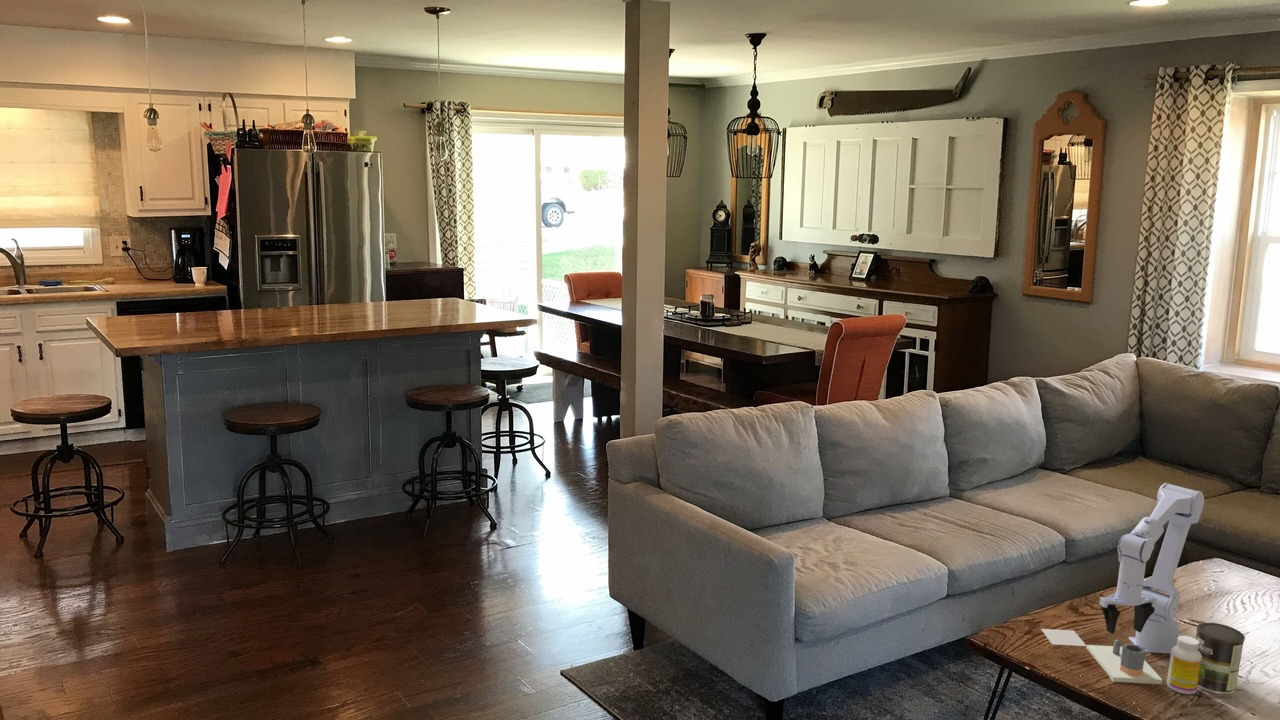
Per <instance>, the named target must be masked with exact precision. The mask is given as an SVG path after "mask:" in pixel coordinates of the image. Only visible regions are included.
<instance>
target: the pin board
mask: <svg viewBox="0 0 1280 720" xmlns="http://www.w3.org/2000/svg"><path fill="white" fill-rule="evenodd" d="M1121 643H1122V642H1121V640H1119V639H1115V640H1114V641H1113V645H1094V644H1086V646H1085V648H1086V650H1087V651H1088V652H1089V653H1090V655H1091V656H1092V657H1093V658H1094V659H1095V660H1096V662H1097V663H1098V664H1099V666H1101V668H1102V669H1103V670H1104V671H1105V673H1106V674H1107V676H1108V678H1109V679H1110V680H1111V682H1112V683H1113V682H1114V683H1129V684H1130V683H1133V684H1149V685H1163V679H1162V678H1161V676H1160V675H1159V674H1158V673H1157V672H1156V671H1155V670H1154V668H1153V667H1152V666H1151V665H1149V664H1148V662H1147V661H1146V660H1145V659H1144V665H1143V673H1142V675H1138V676H1134V675H1129V674H1126V673H1124V672H1122V671H1121V670H1120V662H1121V654H1122V647H1123V646H1121V645H1122V644H1121Z"/></svg>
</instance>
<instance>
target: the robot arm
mask: <svg viewBox="0 0 1280 720" xmlns="http://www.w3.org/2000/svg"><path fill="white" fill-rule="evenodd" d="M1156 500H1157V503H1156V506H1155V508H1154V509H1153V511H1152V513H1150V515H1149V516H1145V517H1143V518H1142V519H1141V520H1140V521H1139V522H1138V524H1137V525H1136V526H1135V527H1134V528H1133V529H1132V531H1131V532H1130V533H1126V534H1123V535H1122V536H1121V537H1120V539H1119V540H1118V541H1119V542H1118V545H1117V553H1118V559H1117V560H1118V562H1119V570H1118V577H1117V585H1116V586H1117V587H1116V591H1115V593H1114V594H1111V595H1107V596H1101V597H1099V602H1098V603H1099V607H1100V608H1101V610H1102V613H1103V616H1104V620H1105V625H1106V626H1105V627H1106V631H1107V632H1108V633H1109V634H1111V635H1115V633H1116V632H1115V631H1116V628H1117V627H1116V626H1117V622H1118V620H1119V619H1118V618H1119V616H1120V614H1121V611H1120V610H1118V607H1119V606H1131V607H1133V609H1134V616H1133V617H1134V618H1133V629H1134V630H1135V636H1128V639H1129V641H1130V642H1131V643H1132V644H1134V645H1139V646H1140V647H1142V648H1144V649H1145V653H1151V654H1153V653H1154V654H1170V655H1171V650H1172V648H1173V647H1174V646H1176V645H1178V644H1177V639H1178V637H1179V631H1180V630H1179V629H1180V628H1179V622H1178V620H1177V618H1176V617H1177V614H1178V611H1179V608H1180V605H1179V604H1180V599H1181V594H1180V592H1179V590H1178V589H1177V587H1176V586H1175V585H1174V584H1173V581H1174V577H1175V575H1176V574H1175V573H1176V572H1177V571H1176V570H1177V568H1178V565H1179V562H1180V558H1181V555H1182V553H1183V549H1184V546H1185V543H1186V539H1187V537H1188V533H1189V531H1190V528H1191V525H1194V524H1198V523H1199V520H1200V519H1201V516H1202V512H1203V508H1204V505H1205V496H1204V494H1203V492H1202V491H1200V490H1194V489H1190V488H1186V487H1184V486H1183V487H1182V486H1178V485H1175V484H1170V483H1168V482H1164V483H1163V484H1162V485H1160V487H1159V489H1158V491H1157V496H1156ZM1168 521H1169V522H1168ZM1167 522H1168V526H1167V528H1166V532H1165V535H1164V538H1163V540H1162V544H1161V548H1160V551H1159V553H1158V557H1157V560H1156V563H1155V566H1154V569H1153V572H1152V576H1150V577H1147V578H1145V574H1146V564H1147V562H1148V561H1149V559H1150V558H1151V555H1152V552H1153V550H1154V548H1155V544H1156V542H1157V541H1158V540H1159V539H1160V537H1161V536H1163V534H1164V529H1165V528H1164V525H1165V524H1166V523H1167ZM1165 593H1166V594H1165Z"/></svg>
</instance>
